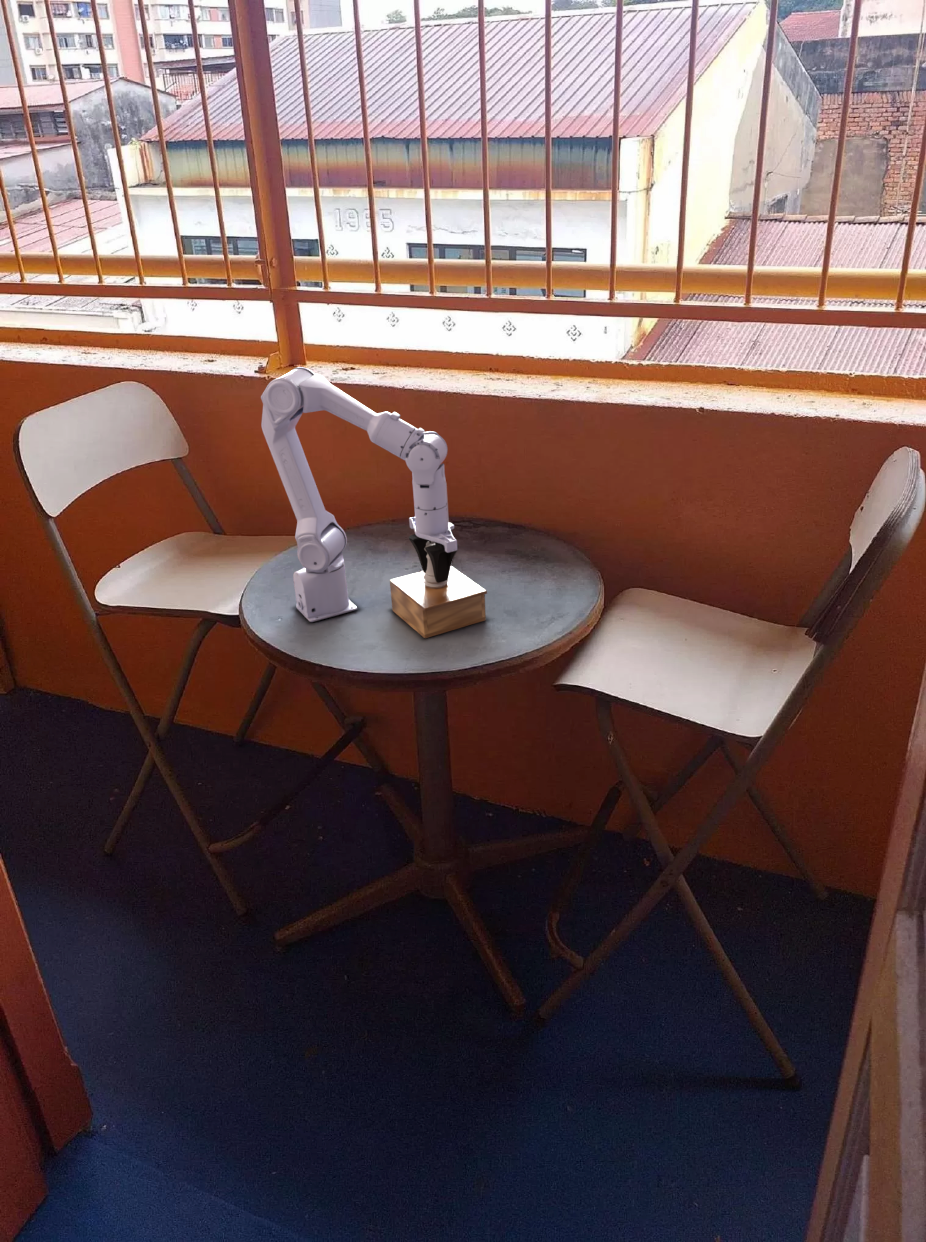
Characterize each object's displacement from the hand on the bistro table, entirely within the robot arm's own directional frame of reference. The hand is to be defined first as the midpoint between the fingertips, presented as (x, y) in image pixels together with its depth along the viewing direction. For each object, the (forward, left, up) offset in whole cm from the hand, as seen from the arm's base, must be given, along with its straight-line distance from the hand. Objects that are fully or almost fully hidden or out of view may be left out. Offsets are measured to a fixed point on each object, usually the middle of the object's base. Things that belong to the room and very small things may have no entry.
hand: (435, 576), depth 166 cm
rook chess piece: (0, 0, -2) cm, 2 cm away
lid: (0, 0, -2) cm, 2 cm away
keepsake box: (0, 0, -8) cm, 8 cm away
